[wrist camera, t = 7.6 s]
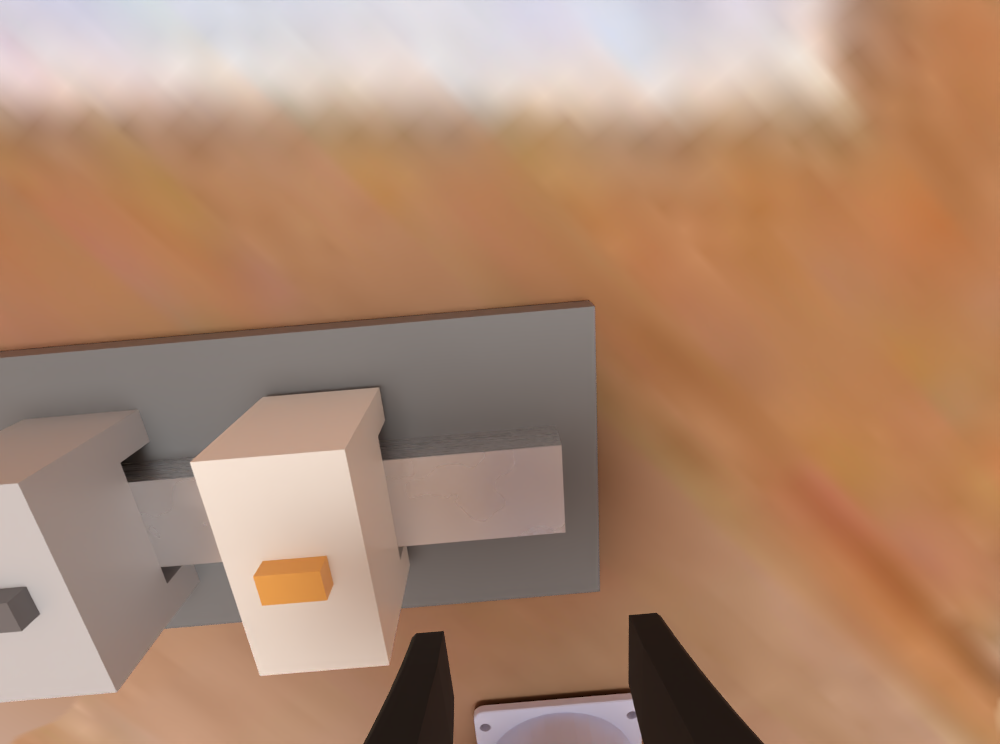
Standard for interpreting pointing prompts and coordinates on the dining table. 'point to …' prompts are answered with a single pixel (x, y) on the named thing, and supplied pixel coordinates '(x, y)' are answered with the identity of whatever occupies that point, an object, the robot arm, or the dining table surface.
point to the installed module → (77, 559)
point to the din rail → (393, 492)
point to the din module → (307, 530)
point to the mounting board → (408, 414)
